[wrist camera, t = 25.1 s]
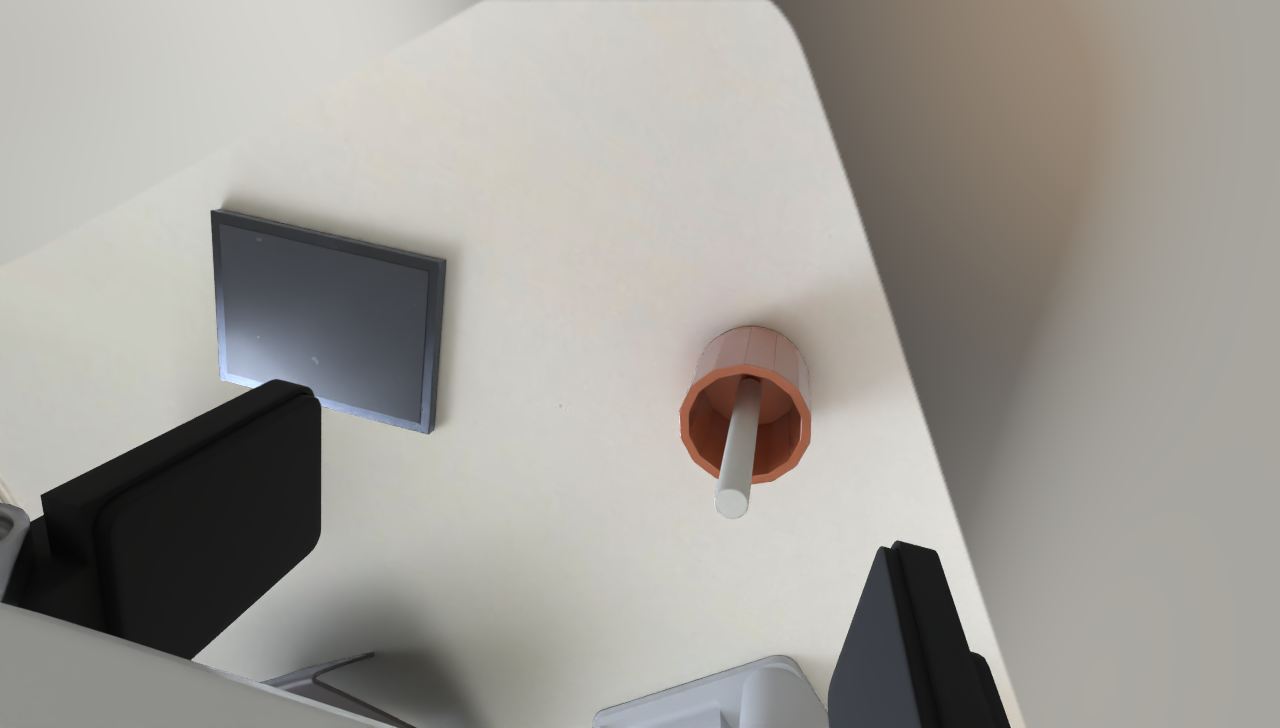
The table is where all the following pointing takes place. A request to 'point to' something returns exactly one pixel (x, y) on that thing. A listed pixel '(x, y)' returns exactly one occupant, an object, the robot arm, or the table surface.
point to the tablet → (329, 318)
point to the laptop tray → (332, 691)
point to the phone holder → (728, 701)
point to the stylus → (739, 452)
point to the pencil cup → (780, 405)
